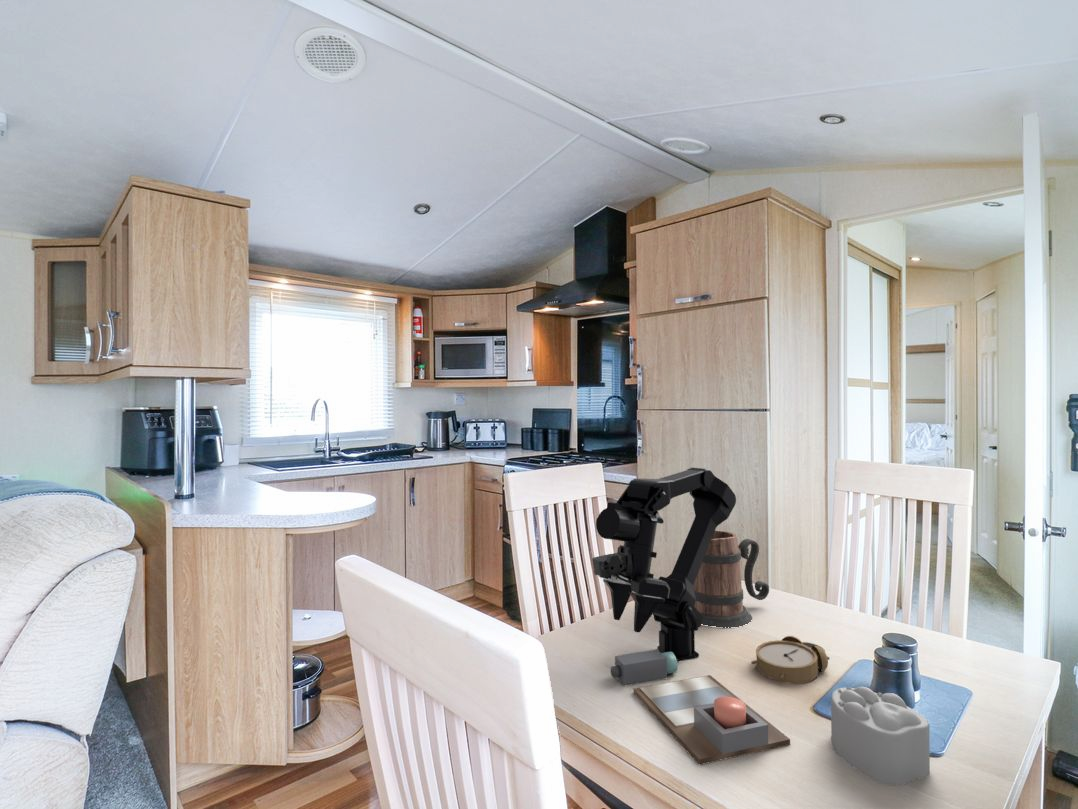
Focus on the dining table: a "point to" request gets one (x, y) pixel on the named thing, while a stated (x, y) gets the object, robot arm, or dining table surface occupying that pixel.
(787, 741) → the picture frame
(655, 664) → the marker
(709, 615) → the tankard
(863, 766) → the lumpy-topped squat cylinder
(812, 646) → the alarm clock
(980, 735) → the dining table surface
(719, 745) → the button housing
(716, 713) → the button
